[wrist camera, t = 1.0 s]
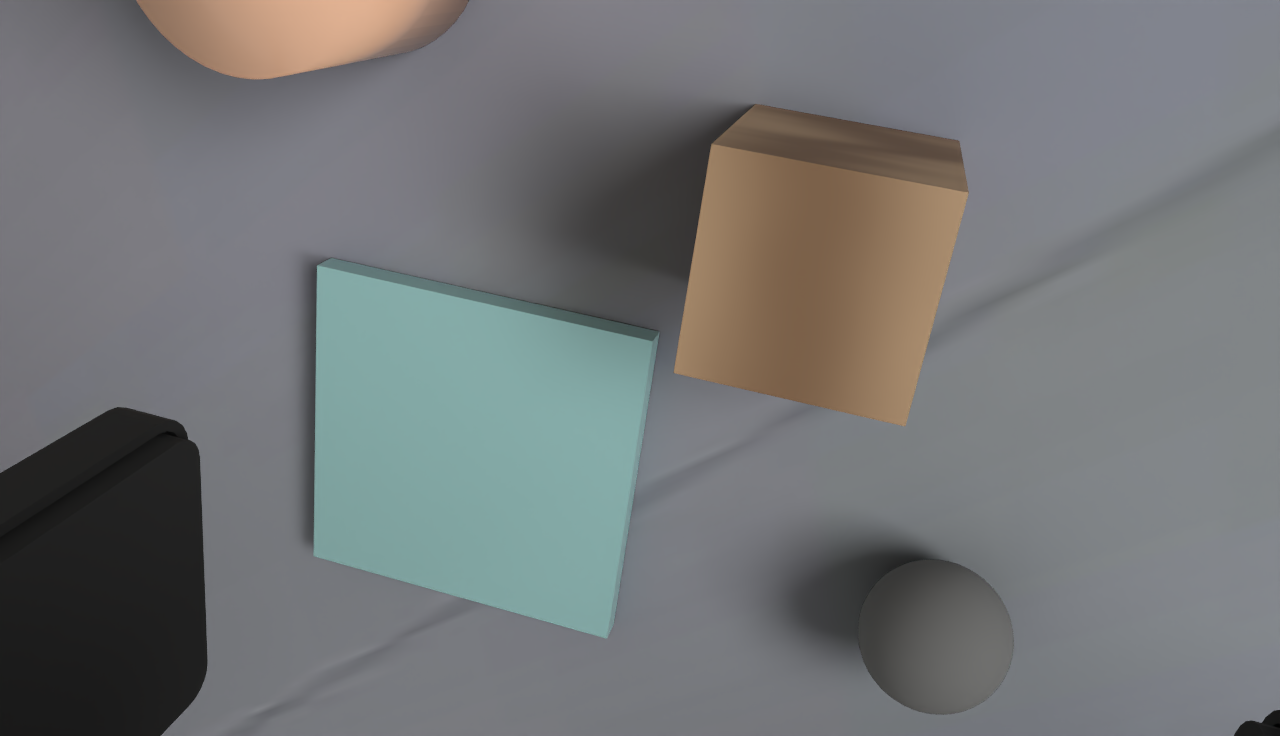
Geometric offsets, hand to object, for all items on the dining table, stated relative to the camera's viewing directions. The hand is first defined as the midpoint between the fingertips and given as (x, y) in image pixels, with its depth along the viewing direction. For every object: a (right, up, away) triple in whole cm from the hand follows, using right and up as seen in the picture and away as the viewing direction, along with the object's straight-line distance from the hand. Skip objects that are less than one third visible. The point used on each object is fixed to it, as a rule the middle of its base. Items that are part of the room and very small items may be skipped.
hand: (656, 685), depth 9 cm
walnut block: (+5, +7, +17) cm, 19 cm away
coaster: (-5, 0, +22) cm, 23 cm away
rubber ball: (+8, -4, +18) cm, 20 cm away
